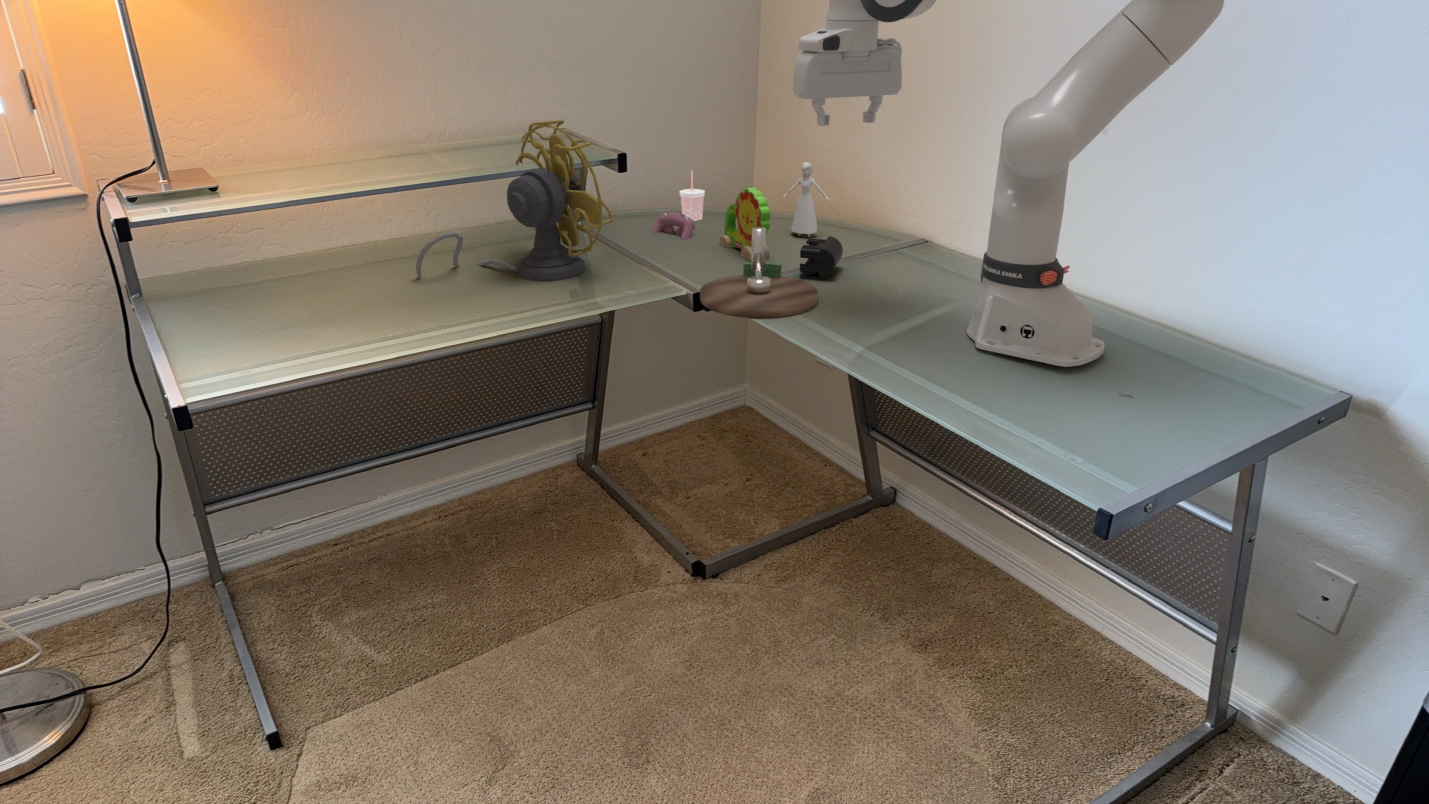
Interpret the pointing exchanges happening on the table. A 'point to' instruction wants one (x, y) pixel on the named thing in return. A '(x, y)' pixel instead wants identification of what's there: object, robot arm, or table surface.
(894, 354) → the table surface
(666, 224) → the video game controller
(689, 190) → the beverage cup
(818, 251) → the end cap
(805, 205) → the woman figurine
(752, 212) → the toy lion
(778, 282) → the dial plate
